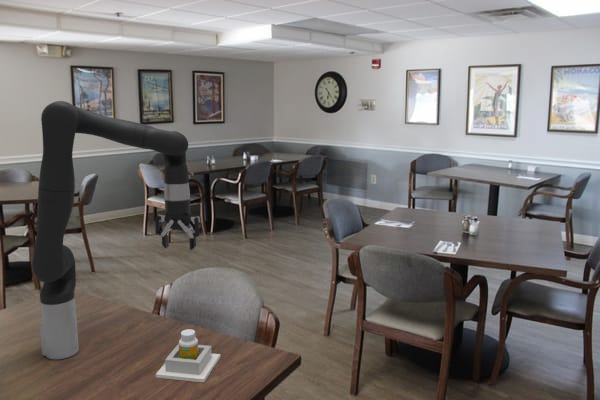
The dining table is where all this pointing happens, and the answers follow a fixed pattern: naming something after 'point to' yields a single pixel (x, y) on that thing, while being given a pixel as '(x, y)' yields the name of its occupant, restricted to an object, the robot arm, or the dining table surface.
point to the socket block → (189, 365)
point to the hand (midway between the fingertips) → (179, 248)
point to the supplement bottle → (188, 345)
